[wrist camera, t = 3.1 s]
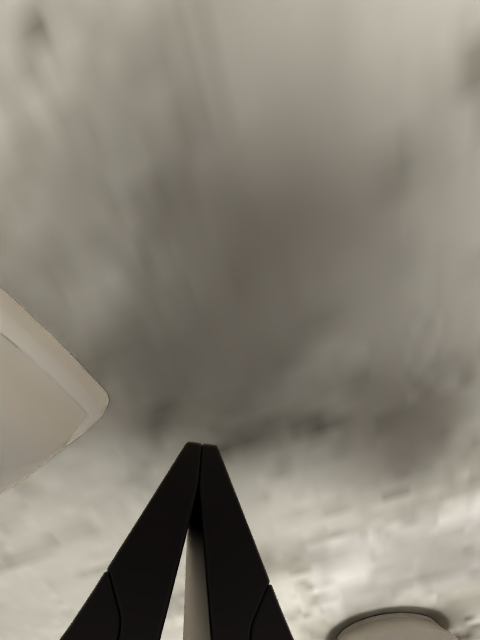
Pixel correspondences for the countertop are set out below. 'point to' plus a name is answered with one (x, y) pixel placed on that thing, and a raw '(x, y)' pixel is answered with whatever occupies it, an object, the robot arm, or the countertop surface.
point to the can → (396, 628)
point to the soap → (39, 395)
